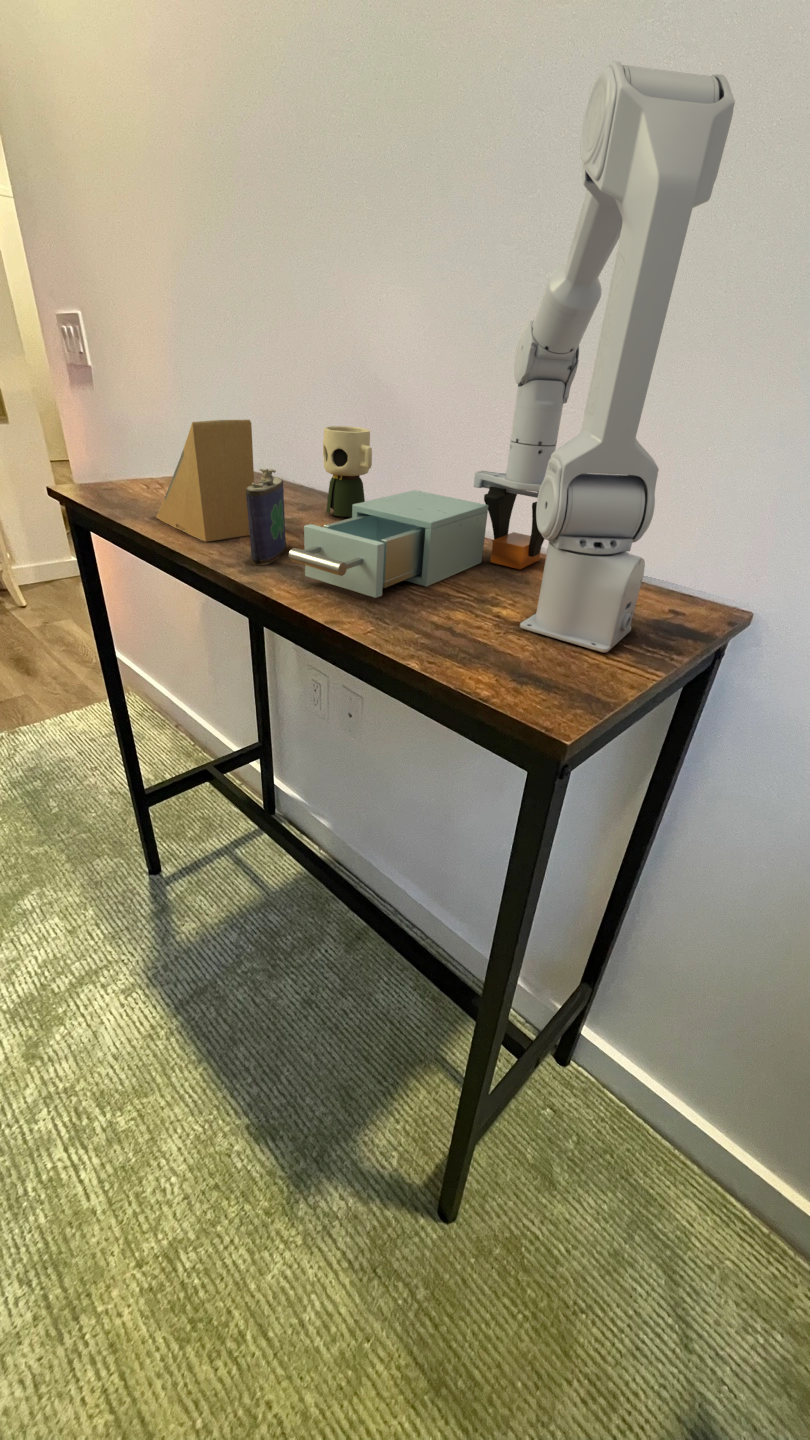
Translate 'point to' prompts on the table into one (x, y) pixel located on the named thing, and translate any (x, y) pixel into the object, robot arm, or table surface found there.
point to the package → (513, 551)
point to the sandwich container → (212, 481)
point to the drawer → (362, 553)
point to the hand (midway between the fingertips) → (516, 551)
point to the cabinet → (436, 529)
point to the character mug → (346, 466)
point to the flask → (266, 518)
